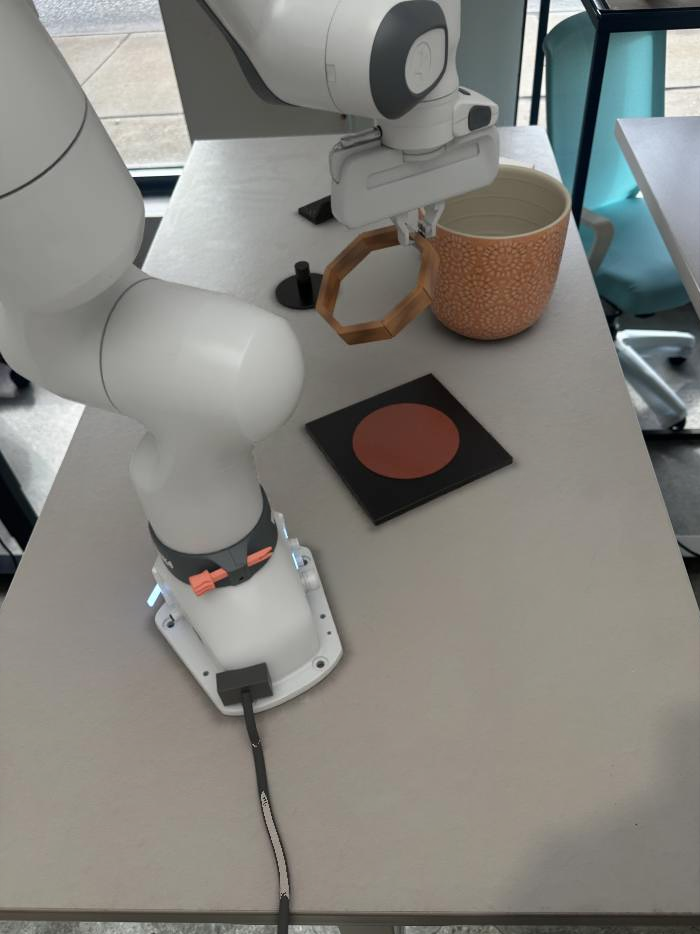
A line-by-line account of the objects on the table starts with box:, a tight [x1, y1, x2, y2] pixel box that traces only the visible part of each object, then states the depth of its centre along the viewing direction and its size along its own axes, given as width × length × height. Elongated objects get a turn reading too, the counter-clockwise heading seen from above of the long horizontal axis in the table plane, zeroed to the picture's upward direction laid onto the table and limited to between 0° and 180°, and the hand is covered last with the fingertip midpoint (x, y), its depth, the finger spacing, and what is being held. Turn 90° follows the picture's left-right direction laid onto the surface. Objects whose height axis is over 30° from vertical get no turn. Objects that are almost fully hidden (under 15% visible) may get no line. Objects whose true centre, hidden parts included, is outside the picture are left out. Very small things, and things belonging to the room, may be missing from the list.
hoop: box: [314, 222, 440, 346], centre depth 88 cm, size 15×15×2 cm
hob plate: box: [304, 372, 514, 526], centre depth 96 cm, size 20×20×1 cm
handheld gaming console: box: [297, 194, 335, 225], centre depth 135 cm, size 12×7×10 cm
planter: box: [417, 164, 573, 341], centre depth 107 cm, size 21×21×19 cm
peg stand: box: [274, 260, 323, 310], centre depth 119 cm, size 10×10×5 cm
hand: (417, 239), depth 87 cm, fingers closed on hoop, 1 cm apart
